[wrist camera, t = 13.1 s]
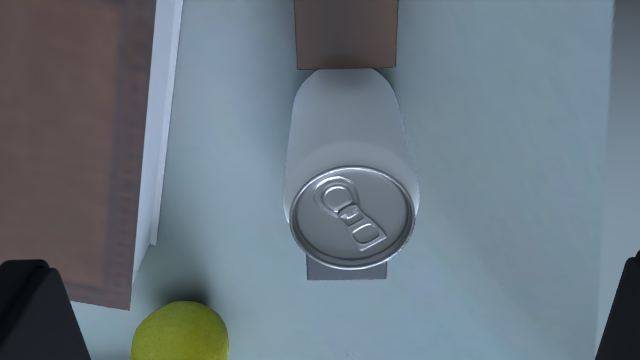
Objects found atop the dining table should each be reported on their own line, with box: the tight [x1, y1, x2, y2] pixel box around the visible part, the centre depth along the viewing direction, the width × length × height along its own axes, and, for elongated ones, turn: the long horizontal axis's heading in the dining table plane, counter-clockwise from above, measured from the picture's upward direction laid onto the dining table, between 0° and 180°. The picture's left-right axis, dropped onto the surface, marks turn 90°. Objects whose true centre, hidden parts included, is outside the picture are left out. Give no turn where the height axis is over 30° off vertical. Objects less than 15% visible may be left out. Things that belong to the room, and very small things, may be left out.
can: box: [283, 68, 419, 269], centre depth 31 cm, size 6×6×12 cm
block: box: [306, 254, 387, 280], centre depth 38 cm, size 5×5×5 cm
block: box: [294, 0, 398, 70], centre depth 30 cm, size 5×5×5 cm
